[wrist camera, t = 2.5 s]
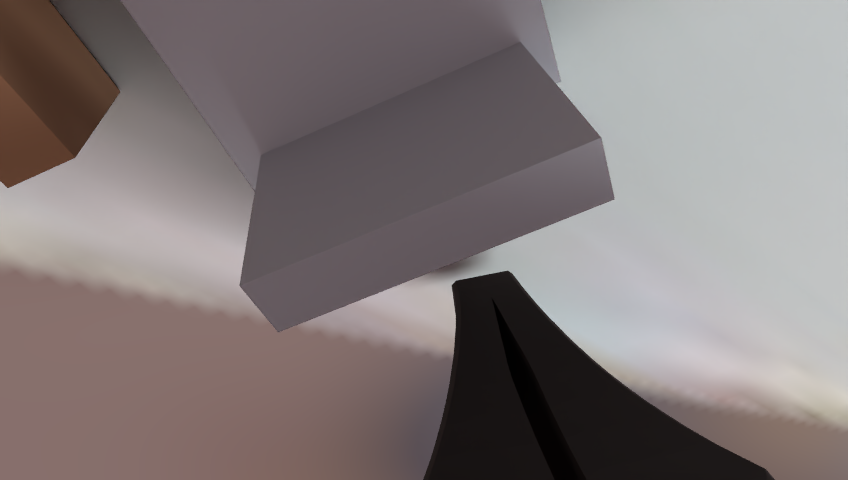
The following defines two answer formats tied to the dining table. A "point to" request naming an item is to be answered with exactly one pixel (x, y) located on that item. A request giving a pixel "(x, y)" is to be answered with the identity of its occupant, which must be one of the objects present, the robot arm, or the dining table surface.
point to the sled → (379, 134)
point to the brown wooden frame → (45, 90)
